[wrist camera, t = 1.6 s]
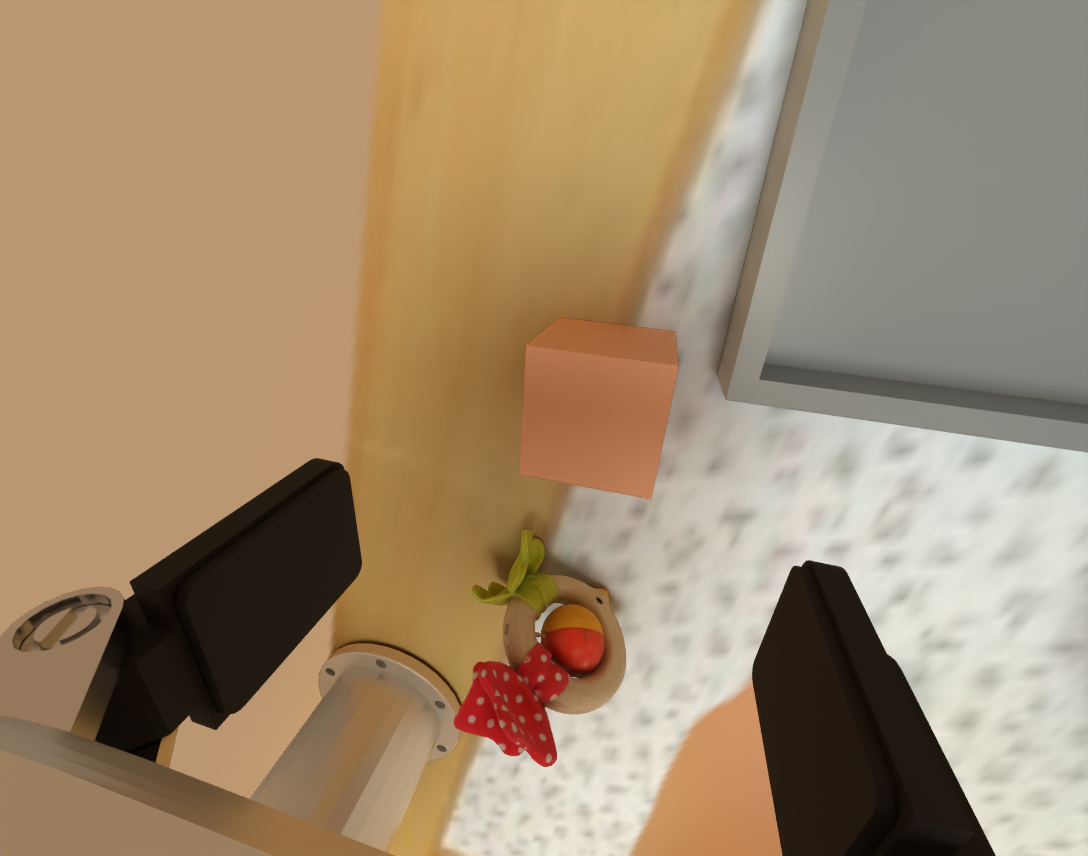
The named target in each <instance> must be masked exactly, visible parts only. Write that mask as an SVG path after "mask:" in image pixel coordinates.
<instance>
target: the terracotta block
mask: <svg viewBox="0 0 1088 856" xmlns="http://www.w3.org/2000/svg"><path fill="white" fill-rule="evenodd" d="M678 367H679V365H678V355H677V345H676V335H675V331H668V330H659V329H651V328H643V327H634V326H626V325H618V324H609V323H601V322H593V321H585V320H576V319H568V318H560V317H559V318H558V319H557V320H556V321H555V322H553V323H552V324H551V325H550V326H549V327H547V328H546V329H545V330H544V331H543V332H541V333H540V334H539V335H538V336H537V337H536V338H534V339H533V340H532V341H531V342H530V343H528V344H527V345H526V353H525V371H524V389H523V407H522V425H521V443H520V461H519V474H520V475H526V476H531V477H536V478H541V479H547V480H552V481H557V482H562V483H568V484H573V485H578V486H583V487H589V488H594V489H599V490H604V491H610V492H615V493H620V494H626V495H631V496H636V497H641V498H647V499H652V494H653V489H654V484H655V479H656V475H657V470H658V465H659V460H660V455H661V450H662V445H663V440H664V435H665V430H666V426H667V421H668V416H669V411H670V406H671V401H672V396H673V391H674V386H675V381H676V377H677V372H678Z"/></svg>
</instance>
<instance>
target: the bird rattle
mask: <svg viewBox="0 0 1088 856" xmlns="http://www.w3.org/2000/svg"><path fill="white" fill-rule="evenodd" d="M532 538H533V531H532V530H529V529H524V530H523V531H522V534H521V550H520V553H519V555H518V557H517V559H516V561H515V562H514V564H513V566H512V568H511V570H510V573H509V580H508V583H507V586H506V587H504V586H502V585H501V584H498V583H495V582H492V583H491V584H490V585H489V587H488V590H487V591H486V590H485V589H483V588H482V587H480V586H478V585H474V587H473V588H472V594H473V596H474V597H475V598H476V599H477V600H479V601H480V602H483V603H489V604H495V605H508V607H507V610H506V613H505V618H504V625H503V639H504V646H505V652H506V655H507V659H508V662H509V664H510V666H507V665H505V664H503V663H500V662H494V661H493V662H492V661H487V662H485V663H484V662H478V663H477V664H476V665H475V666H474V668H473V684H472V687H471V689H470V691H469V693H468V695H467V697H466V699H465V701H464V702H463V704H462V705H461V707H460V709H459V710H458V712H457V714H456V716H455V718H454V726H455V728H456V729H459V730H462V731H465V732H467V733H471V734H475V735H479V736H483V737H488V738H490V739H492V740H493V741H494V742H495V743H496V744H497V745H498V746H499V747H500V749H501V750H502V751H503V752H504V753H505V754H507V755H509V756H519V755H520V754H521V753H522V752H523V751H524V750H525V751H527V752H528V753H529V755H530V756H531V758H532V759H533V760H534V761H536V762H537V763H538V764H540V765H541V766H543V767H548V766H552V765H553V764H554V763H555V762H556V760H557V751H556V747H555V742H554V738H553V734H552V731H551V727H550V723H549V719H548V716H547V713H546V711H545V707H547V708H549V709H551V710H554V711H557V712H561V713H565V714H583V713H587V712H590V711H593V710H595V709H597V708H599V707H601V706H602V705H604V704H605V703H606V702H608V701H609V700H610V699H611V697H612V696H613V695H614V694H615V693H616V691H617V690H618V688H619V687H620V685H621V682H622V680H623V677H624V673H625V668H626V650H625V643H624V638H623V635H622V631H621V628H620V626H619V623H618V621H617V619H616V617H615V615H614V613H613V611H612V609H611V607H610V600H609V594H608V591H607V590H605V589H601V588H592V587H590V586H589V585H587V584H585V583H584V582H582V581H580V580H577V579H575V578H571V577H568V576H563V575H547V574H545V573H538V572H537V570H538V569H539V567H540V565H541V563H542V561H543V559H544V556H545V548H544V545H543V543H542V541H541V540H540V539H537V538H535V539H532ZM553 603H561V604H564V605H563V606H560V607H558V608H556V609H555V610H553V611H552V612H551V613H550V614H549V615H548V617H547V618H546V620H545V622H544V624H543V627H542V630H541V634H540V633H538V632H535V620H538V619H539V618H540V616H541V613H543V612H545V610H546V609H547V607H548V606H550V605H551V604H553ZM536 637H541V643H538V642H537V639H536ZM572 677H576V678H572Z"/></svg>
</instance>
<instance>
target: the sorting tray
mask: <svg viewBox="0 0 1088 856" xmlns="http://www.w3.org/2000/svg"><path fill="white" fill-rule="evenodd" d="M717 376H718V379H719V382H720V384H721V387H722V390H723V393H724V396H725V398H726V400H730V401H737V402H744V403H751V404H758V405H765V406H772V407H779V408H786V409H792V410H799V411H806V412H813V413H820V414H827V415H834V416H841V417H847V418H854V419H861V420H868V421H875V422H882V423H889V424H896V425H903V426H909V427H916V428H923V429H930V430H937V431H944V432H951V433H958V434H965V435H971V436H978V437H985V438H992V439H999V440H1006V441H1013V442H1020V443H1027V444H1033V445H1040V446H1047V447H1054V448H1061V449H1068V450H1075V451H1082V452H1088V0H808V2H807V7H806V11H805V15H804V19H803V23H802V27H801V31H800V35H799V40H798V44H797V48H796V52H795V56H794V60H793V64H792V68H791V72H790V77H789V81H788V85H787V89H786V93H785V97H784V101H783V105H782V109H781V114H780V118H779V122H778V126H777V130H776V134H775V138H774V142H773V147H772V151H771V155H770V159H769V163H768V167H767V171H766V175H765V179H764V184H763V188H762V192H761V196H760V200H759V204H758V208H757V212H756V216H755V221H754V225H753V229H752V233H751V237H750V241H749V245H748V249H747V254H746V258H745V262H744V266H743V270H742V274H741V278H740V282H739V286H738V291H737V295H736V299H735V303H734V307H733V311H732V315H731V319H730V323H729V328H728V332H727V336H726V340H725V344H724V348H723V352H722V356H721V361H720V365H719V369H718V373H717Z"/></svg>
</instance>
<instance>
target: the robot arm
mask: <svg viewBox="0 0 1088 856" xmlns="http://www.w3.org/2000/svg"><path fill="white" fill-rule="evenodd" d="M361 566H362V559H361V552H360V545H359V538H358V531H357V524H356V517H355V510H354V503H353V496H352V489H351V482H350V476H349V473H348V472H347V471H345V469H344V467H343V465H342V464H340V463H338V462H333V461H328V460H323V459H318V458H316V459H312V460H310V461H308V462H307V463H305V464H304V465H302V466H301V467H299V468H298V469H296V470H295V471H293V472H292V473H291V474H289V475H288V476H286V477H285V478H283V479H282V480H280V481H279V482H277V483H276V484H274V485H273V486H271V487H270V488H268V489H267V490H265V491H264V492H263V493H261V494H259V495H258V496H256V497H255V498H253V499H252V500H251V501H249V502H247V503H246V504H244V505H243V506H241V507H240V508H238V509H237V510H236V511H234V512H233V513H231V514H230V515H228V516H227V517H225V518H224V519H222V520H221V521H219V522H218V523H216V524H215V525H213V526H212V527H210V528H209V529H207V530H206V531H204V532H203V533H201V534H200V535H198V536H197V537H195V538H194V539H192V540H191V541H189V542H188V543H187V544H185V545H184V546H182V547H180V548H179V549H177V550H176V551H175V552H173V553H172V554H170V555H169V556H167V557H166V558H164V559H163V560H161V561H160V562H158V563H157V564H155V565H154V566H152V567H151V568H149V569H148V570H146V571H145V572H144V573H142V574H140V575H139V576H137V577H136V578H134V579H133V580H131V581H130V584H131V586H132V589H133V591H134V593H135V594H134V595H132V596H131V597H129V598H128V599H127V600H125V599H124V598H123V596H122V594H121V593H120V591H117V590H115V589H113V588H108V587H93V588H86V589H80V590H77V591H73V592H70V593H66V594H63V595H61V596H58V597H56V598H53V599H51V600H49V601H46V602H44V603H43V604H41V605H39V606H37V607H35V608H34V609H32V610H30V611H28V612H27V613H25V614H24V615H23V616H22V617H20V618H19V619H17V620H16V621H15V622H14V623H12V624H11V625H10V627H9V628H8V629H7V630H6V631H5V632H4V633H3V634H2V636H1V637H0V856H394V855H392V854H389V853H387V852H388V850H389V848H390V845H391V843H392V841H393V839H394V836H395V834H396V832H397V830H398V827H399V825H400V823H401V821H402V818H403V816H404V814H405V812H406V809H407V807H408V805H409V803H410V800H411V798H412V796H413V794H414V791H415V789H416V787H417V785H418V782H419V780H420V778H421V776H422V773H423V771H424V769H425V767H426V764H427V762H428V761H431V760H435V759H439V758H442V757H443V756H445V755H447V754H449V753H450V752H451V751H452V750H453V749H454V748H455V746H456V744H457V742H458V740H459V737H460V735H461V732H462V730H459V729H456V728H455V726H454V718H455V716H456V714H457V712H458V710H459V709H460V705H459V703H458V701H457V699H456V697H455V695H454V694H453V692H452V691H451V690H450V688H449V687H448V685H447V684H446V683H445V682H444V681H443V680H442V679H441V678H440V677H439V676H438V675H437V674H436V673H435V672H434V671H432V670H431V669H430V668H428V667H427V666H426V665H425V664H423V663H421V662H420V661H418V660H417V659H415V658H413V657H412V656H409V655H407V654H405V653H403V652H401V651H399V650H396V649H393V648H389V647H386V646H382V645H376V644H368V643H357V644H352V645H346V646H344V647H342V648H340V649H337V650H336V651H335V652H334V653H333V654H332V655H331V656H330V657H329V658H328V660H327V661H326V662H325V664H324V665H323V666H322V669H321V671H320V674H319V688H320V693H321V696H322V698H323V699H322V700H321V702H320V703H319V704H318V706H317V707H316V709H315V710H314V711H313V713H312V714H311V716H310V717H309V718H308V720H307V721H306V722H305V724H304V725H303V727H302V728H301V729H300V731H299V732H298V733H297V735H296V736H295V737H294V739H293V740H292V742H291V743H290V744H289V746H288V747H287V748H286V750H285V751H284V753H283V754H282V755H281V757H280V758H279V759H278V761H277V762H276V763H275V765H274V766H273V768H272V769H271V770H270V772H269V773H268V774H267V776H266V777H265V779H264V780H263V781H262V783H261V784H260V786H259V787H258V788H257V790H256V791H255V792H254V794H253V795H252V796H251V798H250V799H247V798H245V797H243V796H240V795H237V794H235V793H232V792H230V791H227V790H224V789H222V788H219V787H217V786H214V785H211V784H209V783H206V782H203V781H201V780H198V779H196V778H193V777H191V776H188V775H185V774H183V773H180V772H178V771H175V770H172V769H170V768H169V766H170V762H171V758H172V753H173V749H174V744H175V740H176V735H177V731H178V726H179V725H180V724H181V723H182V722H183V721H184V720H185V719H186V718H187V717H188V716H190V718H191V720H192V722H195V723H198V724H201V725H204V726H206V727H209V728H212V729H214V730H216V729H218V727H219V726H220V725H221V724H222V723H223V722H224V721H225V720H226V718H227V717H228V716H229V715H230V714H233V713H236V712H238V711H239V710H241V708H243V707H244V705H246V703H247V702H248V701H249V700H250V699H251V698H252V696H253V695H254V694H255V693H256V692H257V691H258V690H259V689H260V687H261V686H262V685H263V684H264V683H265V682H266V681H267V679H268V678H269V677H270V676H271V675H272V674H273V673H274V672H275V670H276V669H277V668H278V667H279V666H280V665H281V663H282V662H283V661H284V660H285V659H286V658H287V656H288V655H289V654H290V653H291V652H292V651H293V650H294V649H295V647H296V646H297V645H298V644H299V643H300V642H301V641H302V639H303V638H304V637H305V636H306V635H307V634H308V633H309V631H310V630H311V629H312V628H313V627H314V626H315V625H316V623H317V622H318V621H319V620H320V619H321V618H322V617H323V615H324V614H325V613H326V612H327V611H328V610H329V609H330V607H331V606H332V605H333V604H334V603H335V602H336V601H337V599H338V598H339V597H340V596H341V595H342V594H343V593H344V591H345V590H346V589H347V588H348V587H349V586H350V585H351V583H352V582H353V581H354V580H355V579H356V578H357V576H358V574H359V572H360V570H361ZM752 680H753V687H754V692H755V699H756V704H757V710H758V715H759V722H760V727H761V733H762V739H763V745H764V751H765V756H766V762H767V768H768V774H769V779H770V785H771V791H772V797H773V802H774V808H775V814H776V820H777V826H778V832H779V837H780V843H781V848H782V855H783V856H996V855H995V853H994V851H993V849H992V848H991V846H990V844H989V842H988V840H987V838H986V836H985V834H984V832H983V830H982V828H981V826H980V824H979V822H978V820H977V818H976V816H975V814H974V812H973V810H972V808H971V806H970V804H969V802H968V800H967V798H966V796H965V794H964V792H963V790H962V788H961V786H960V784H959V782H958V780H957V778H956V776H955V774H954V772H953V770H952V769H951V767H950V765H949V763H948V761H947V759H946V757H945V755H944V753H943V751H942V749H941V747H940V745H939V743H938V741H937V739H936V737H935V735H934V733H933V731H932V729H931V727H930V725H929V723H928V721H927V719H926V717H925V715H924V713H923V711H922V709H921V707H920V705H919V703H918V701H917V699H916V697H915V695H914V693H913V691H912V689H911V688H910V686H909V684H908V682H907V680H906V678H905V676H904V674H903V672H902V670H901V668H900V667H899V665H898V664H897V662H896V661H895V660H894V659H893V658H892V657H891V656H889V655H887V653H886V651H885V649H884V647H883V645H882V643H881V641H880V639H879V637H878V635H877V633H876V631H875V629H874V627H873V625H872V623H871V621H870V619H869V617H868V615H867V613H866V610H865V608H864V606H863V604H862V602H861V600H860V598H859V596H858V594H857V592H856V590H855V588H854V586H853V584H852V582H851V580H850V578H849V576H848V574H847V572H846V571H845V569H843V568H842V567H838V566H834V565H829V564H824V563H819V562H814V561H810V560H809V561H806V562H805V563H804V564H803V565H802V567H800V566H794V567H793V568H792V569H791V571H790V573H789V576H788V578H787V581H786V583H785V586H784V588H783V591H782V593H781V596H780V598H779V601H778V603H777V606H776V608H775V610H774V613H773V615H772V618H771V620H770V623H769V625H768V628H767V630H766V633H765V635H764V638H763V640H762V643H761V645H760V648H759V650H758V653H757V655H756V658H755V660H754V664H753V670H752Z"/></svg>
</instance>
